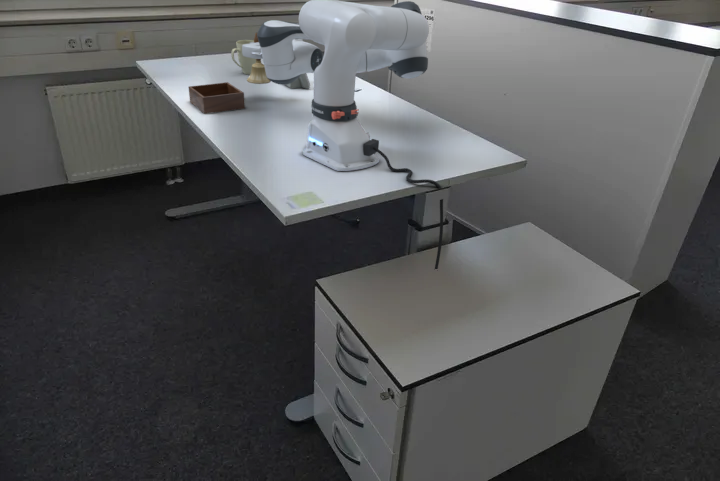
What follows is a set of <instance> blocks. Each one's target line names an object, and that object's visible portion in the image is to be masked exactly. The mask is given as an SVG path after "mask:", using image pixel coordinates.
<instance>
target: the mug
mask: <svg viewBox="0 0 720 481" xmlns="http://www.w3.org/2000/svg"><path fill="white" fill-rule="evenodd" d="M250 42H254V39H240V40H237V41H236V42H235V45H236V47H235V48H232V49H231V52H230V56H231V60H232V61H233V63H234V64H235V65H237V66H238V67H239V68H240V69H241V71H242V73H243V74H244V75H247V76H248V75H249V76H250V74H251V71H252V65H253V64H255V63H256V59H253V58H248V57H244V56H243V54H242V45H243V44H250ZM235 51H236V52H237V59H238V62H237V61H236V59H235Z"/></svg>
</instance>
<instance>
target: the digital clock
mask: <svg viewBox="0 0 720 481" xmlns="http://www.w3.org/2000/svg"><path fill="white" fill-rule="evenodd" d="M285 86H286V87H288V88H289V89H300V88H303V89H305V90H306V89H310V87H311V82H310V80H309V76H308V73H304V74H301V76H300V77H299V78H297V79H296V80H295V81H294V82H292V83H290V84H286V85H285Z"/></svg>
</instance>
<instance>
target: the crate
mask: <svg viewBox="0 0 720 481" xmlns="http://www.w3.org/2000/svg"><path fill="white" fill-rule="evenodd" d="M188 96H189V102H190V104H192V105H193V106H194V107H195V108H197V109H198V110H199V111H200V112H201V113H203V114H204V115H206V114H215V113H221V112H228V111H235V110H236V111H237V110H243V109H246V105H245V92H244V91H242V90H240V89H239V88H238V87H236V86H234V85H233V84H231V83H230V82H228V81H226V82H216V83H209V84H198V85H189V86H188Z"/></svg>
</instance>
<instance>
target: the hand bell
mask: <svg viewBox="0 0 720 481" xmlns="http://www.w3.org/2000/svg"><path fill="white" fill-rule="evenodd" d="M257 33H258V32H255V34H254V38H253V40H254V42H259V41H258V37H257ZM246 82H247V83H250V84H255V85H264V84H265V85H266V84H270V83H272V81H270V80H269V79H268V78H267V76H266V72H265V67H264V63H263V62H262V59H256V63H255V64H253V65H252V71H251V74H250V75H249V76H248V77H247V78H246Z"/></svg>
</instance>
